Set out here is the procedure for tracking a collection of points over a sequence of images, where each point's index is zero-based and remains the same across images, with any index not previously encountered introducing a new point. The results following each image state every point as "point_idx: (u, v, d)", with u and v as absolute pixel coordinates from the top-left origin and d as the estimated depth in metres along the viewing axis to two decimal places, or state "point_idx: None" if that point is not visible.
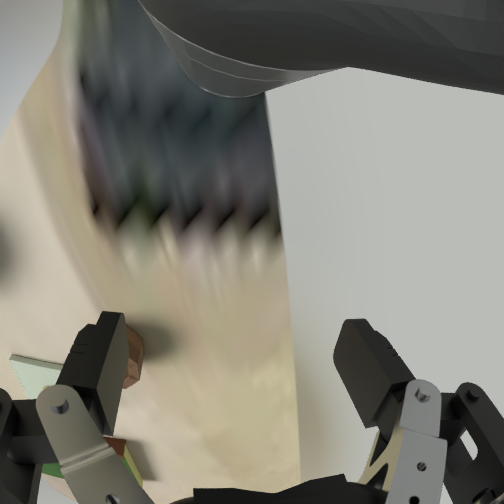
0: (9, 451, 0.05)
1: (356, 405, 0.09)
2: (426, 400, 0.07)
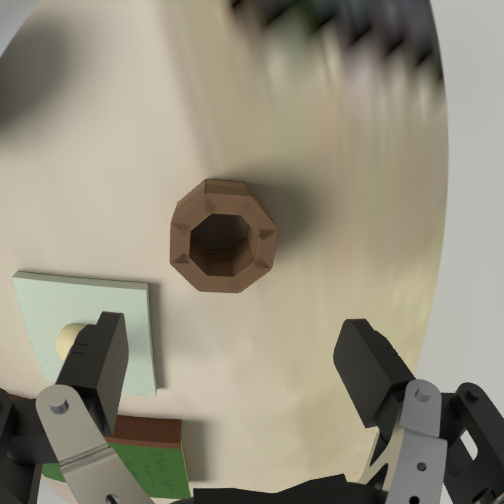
0: (9, 451, 0.05)
1: (356, 405, 0.09)
2: (426, 400, 0.07)
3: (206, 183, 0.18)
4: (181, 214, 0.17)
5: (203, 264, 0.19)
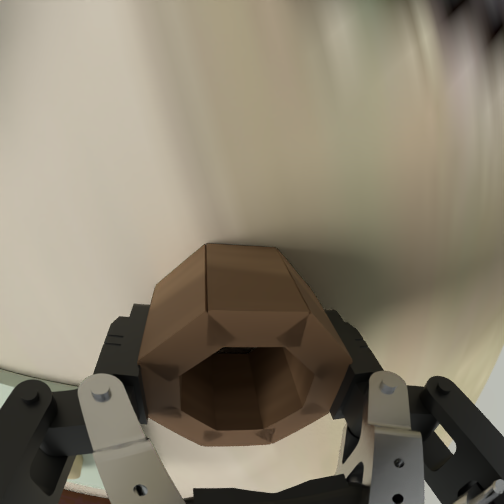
0: (41, 443, 0.05)
1: None
2: (389, 392, 0.07)
3: (207, 262, 0.09)
4: (157, 348, 0.07)
5: (208, 404, 0.10)
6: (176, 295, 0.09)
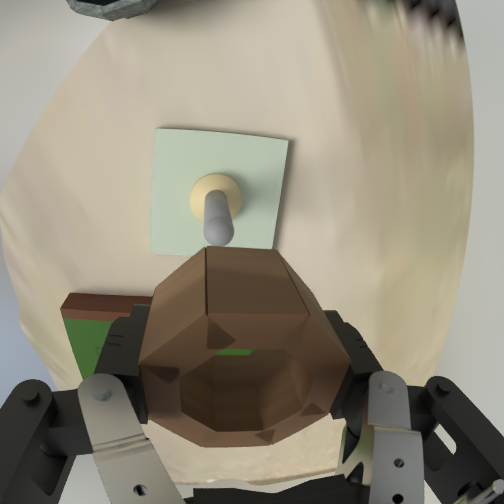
0: (41, 443, 0.05)
1: None
2: (389, 392, 0.07)
3: (207, 264, 0.09)
4: (157, 350, 0.07)
5: (208, 406, 0.10)
6: (176, 297, 0.09)
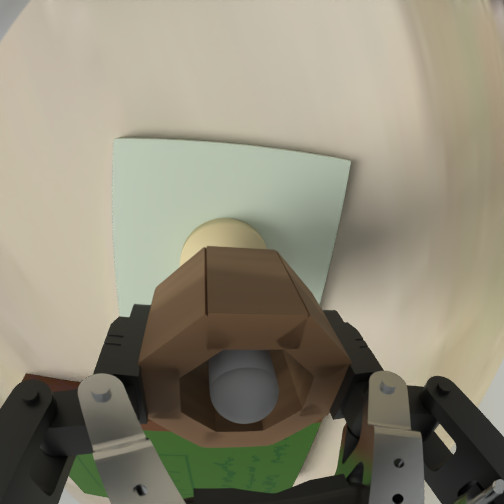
0: (41, 443, 0.05)
1: None
2: (389, 392, 0.07)
3: (207, 265, 0.09)
4: (157, 351, 0.07)
5: (208, 406, 0.10)
6: (176, 298, 0.09)
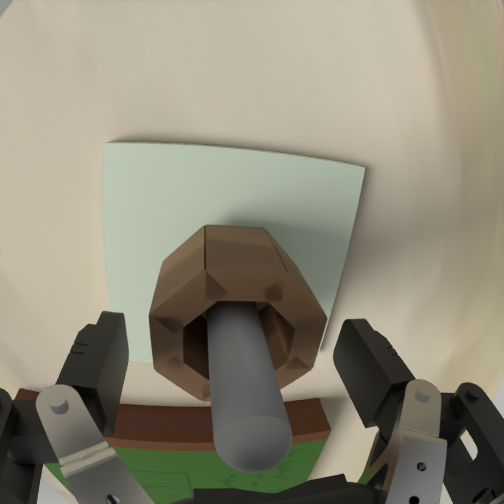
0: (9, 451, 0.05)
1: (356, 405, 0.09)
2: (426, 400, 0.07)
3: (206, 237, 0.11)
4: (165, 302, 0.09)
5: (206, 362, 0.12)
6: (180, 264, 0.11)
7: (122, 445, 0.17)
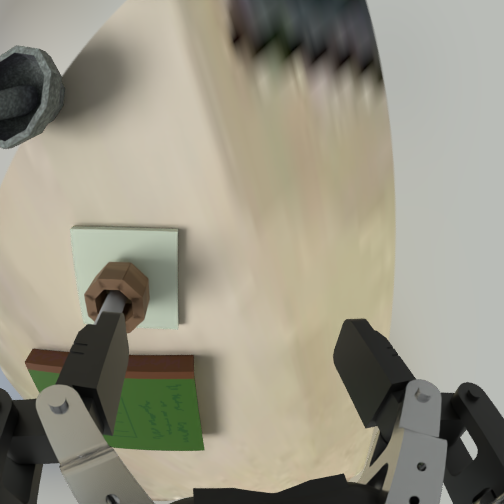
0: (9, 451, 0.05)
1: (356, 405, 0.09)
2: (426, 400, 0.07)
3: (105, 267, 0.28)
4: (88, 290, 0.26)
5: None
6: (96, 277, 0.28)
7: None
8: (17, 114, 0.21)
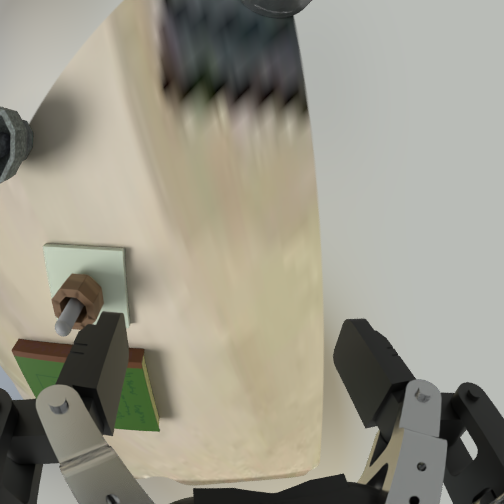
0: (9, 451, 0.05)
1: (356, 405, 0.09)
2: (426, 400, 0.07)
3: (67, 278, 0.34)
4: (54, 296, 0.32)
5: None
6: (61, 286, 0.34)
7: (58, 360, 0.40)
8: None
